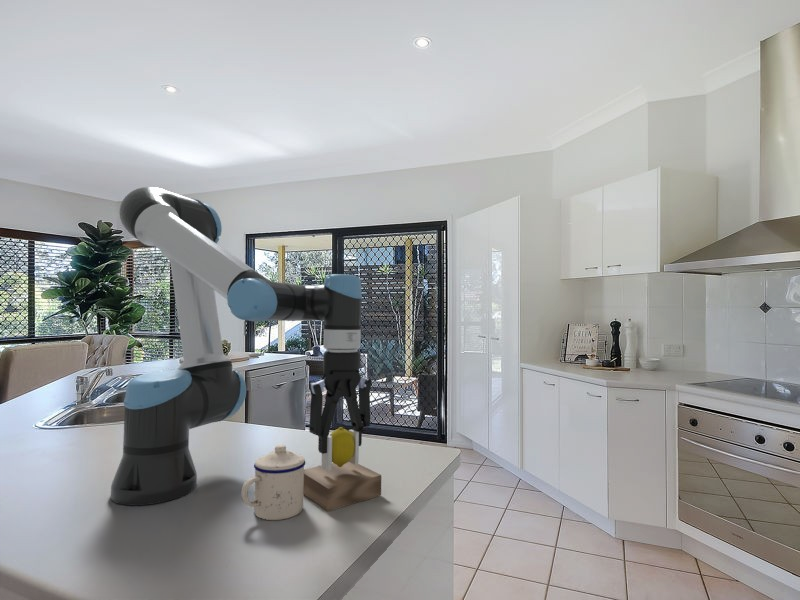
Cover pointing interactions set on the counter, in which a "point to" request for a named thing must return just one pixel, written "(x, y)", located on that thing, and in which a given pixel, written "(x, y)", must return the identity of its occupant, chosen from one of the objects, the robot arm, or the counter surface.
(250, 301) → the robot arm
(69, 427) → the counter surface
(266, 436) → the counter surface
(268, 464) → the teacup with lid
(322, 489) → the walnut plinth
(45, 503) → the counter surface
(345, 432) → the lemon
